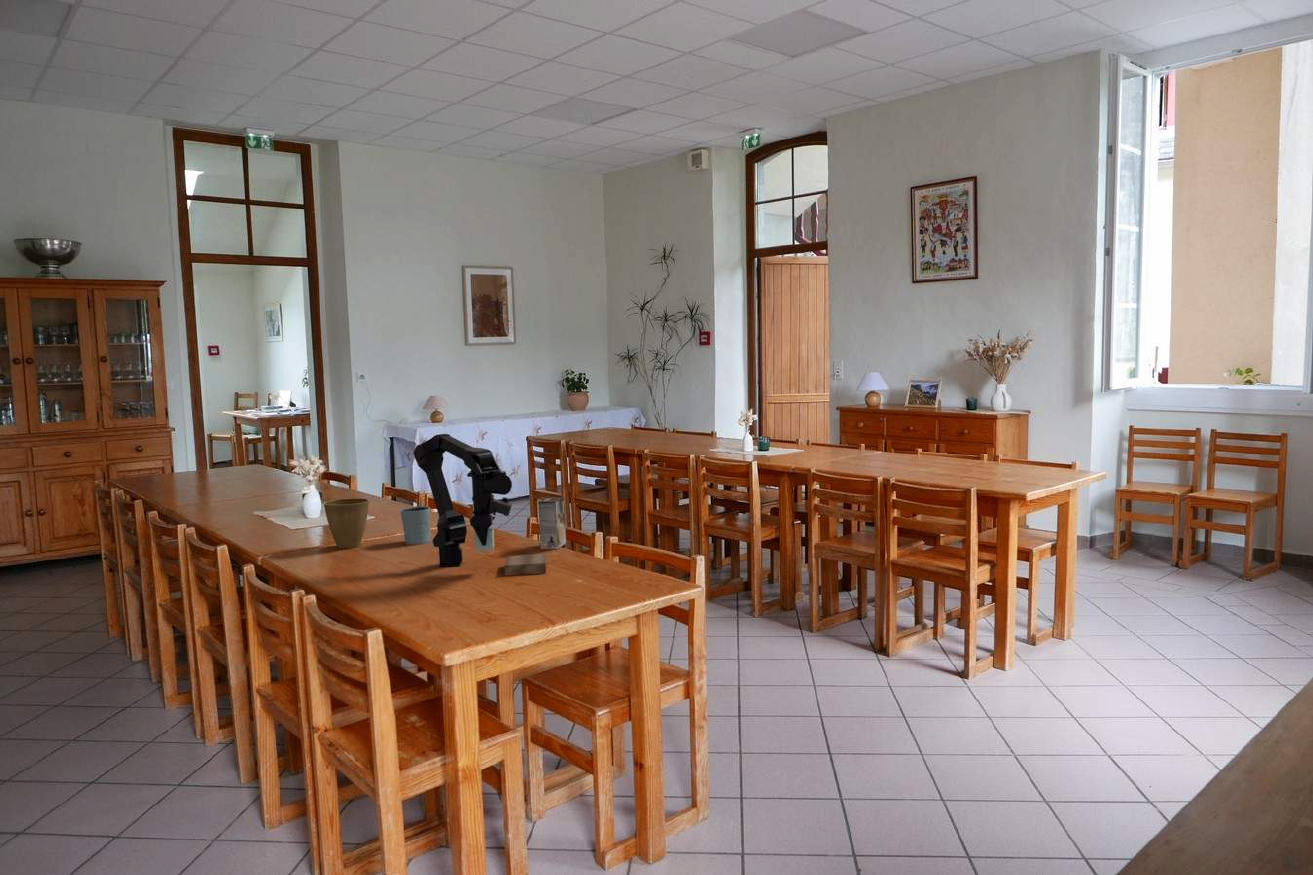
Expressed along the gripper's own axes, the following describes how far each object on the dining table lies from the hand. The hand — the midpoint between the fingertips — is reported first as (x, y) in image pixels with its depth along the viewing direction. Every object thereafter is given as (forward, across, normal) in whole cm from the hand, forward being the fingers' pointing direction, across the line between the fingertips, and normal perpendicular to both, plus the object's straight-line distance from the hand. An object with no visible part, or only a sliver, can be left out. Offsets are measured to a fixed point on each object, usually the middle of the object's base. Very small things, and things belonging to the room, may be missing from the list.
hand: (484, 543), depth 263 cm
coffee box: (+9, +30, -20) cm, 37 cm away
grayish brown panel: (+9, 0, -12) cm, 15 cm away
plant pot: (+9, +48, +51) cm, 71 cm away
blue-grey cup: (+9, +49, +28) cm, 57 cm away
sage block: (+2, 0, 0) cm, 2 cm away
